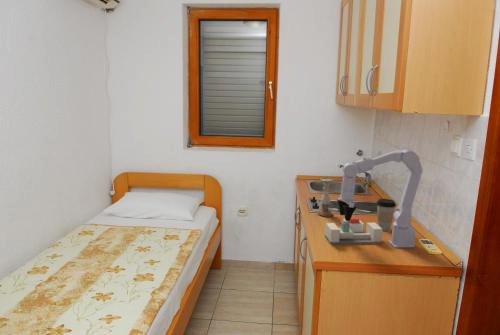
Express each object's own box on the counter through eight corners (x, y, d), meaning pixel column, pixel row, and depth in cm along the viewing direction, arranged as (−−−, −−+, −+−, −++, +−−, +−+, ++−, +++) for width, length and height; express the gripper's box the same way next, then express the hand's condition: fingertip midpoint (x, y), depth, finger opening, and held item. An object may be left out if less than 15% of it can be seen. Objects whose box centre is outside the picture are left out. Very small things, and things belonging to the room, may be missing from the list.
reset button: (355, 222, 200) (356, 216, 199) (358, 225, 195) (359, 219, 195) (347, 222, 199) (347, 216, 199) (350, 225, 195) (350, 219, 194)
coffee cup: (393, 227, 205) (395, 199, 202) (394, 233, 196) (397, 204, 193) (374, 225, 207) (376, 197, 204) (374, 231, 198) (376, 202, 195)
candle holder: (335, 215, 222) (338, 180, 218) (322, 217, 218) (324, 181, 214) (327, 211, 230) (329, 177, 226) (314, 212, 226) (315, 178, 222)
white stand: (373, 235, 192) (374, 222, 190) (381, 243, 182) (382, 229, 181) (324, 236, 190) (325, 222, 189) (330, 244, 180) (331, 230, 179)
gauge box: (357, 228, 202) (358, 218, 201) (363, 233, 195) (363, 224, 194) (342, 228, 202) (343, 218, 201) (347, 233, 194) (348, 224, 193)
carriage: (348, 234, 189) (349, 219, 188) (353, 239, 182) (354, 224, 181) (336, 234, 189) (337, 220, 187) (340, 239, 182) (341, 225, 180)
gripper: (334, 185, 187) (332, 212, 190) (344, 193, 173) (341, 222, 176) (349, 185, 188) (346, 212, 191) (360, 193, 174) (356, 223, 177)
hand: (345, 217), depth 183 cm, fingers open, 7 cm apart
